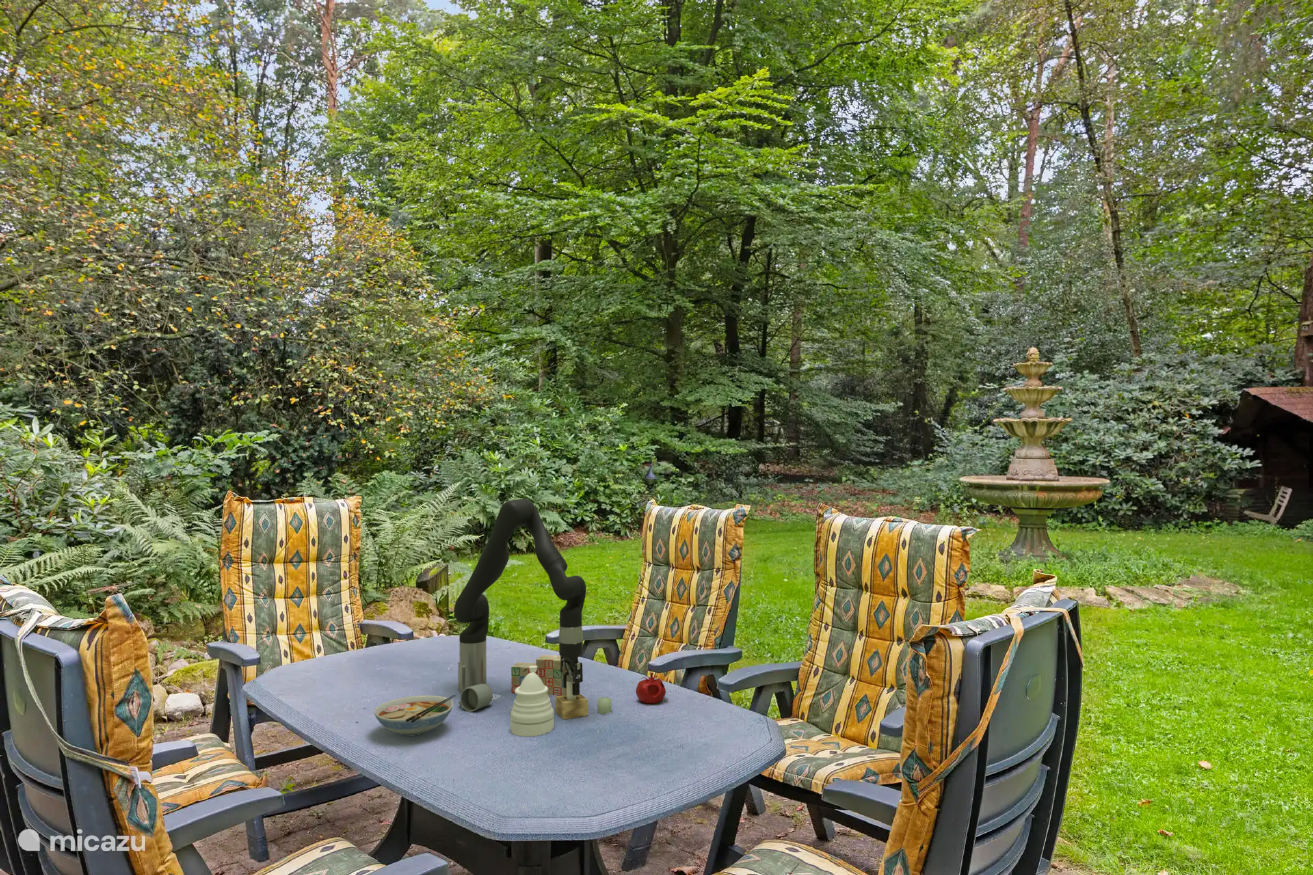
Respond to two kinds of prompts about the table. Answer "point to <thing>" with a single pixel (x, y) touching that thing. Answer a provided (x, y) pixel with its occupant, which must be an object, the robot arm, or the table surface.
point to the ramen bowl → (414, 713)
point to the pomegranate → (650, 690)
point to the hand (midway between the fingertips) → (571, 691)
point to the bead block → (571, 706)
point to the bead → (604, 705)
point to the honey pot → (531, 707)
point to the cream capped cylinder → (570, 689)
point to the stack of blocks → (541, 674)
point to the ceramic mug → (476, 697)
